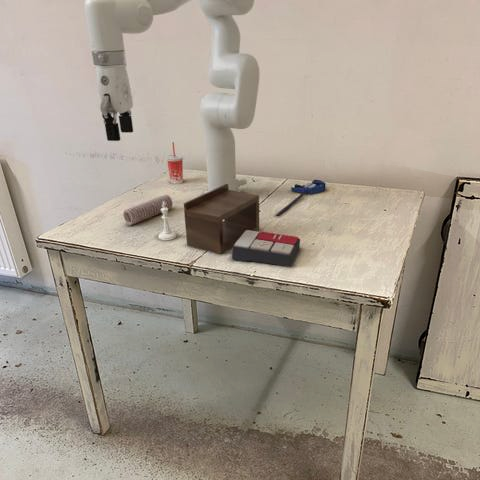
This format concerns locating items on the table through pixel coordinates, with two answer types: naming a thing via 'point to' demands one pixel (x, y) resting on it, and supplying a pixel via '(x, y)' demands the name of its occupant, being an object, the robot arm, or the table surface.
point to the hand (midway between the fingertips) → (120, 136)
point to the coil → (146, 209)
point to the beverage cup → (175, 167)
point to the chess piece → (166, 226)
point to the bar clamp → (306, 191)
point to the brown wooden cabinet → (220, 218)
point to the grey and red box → (266, 248)
